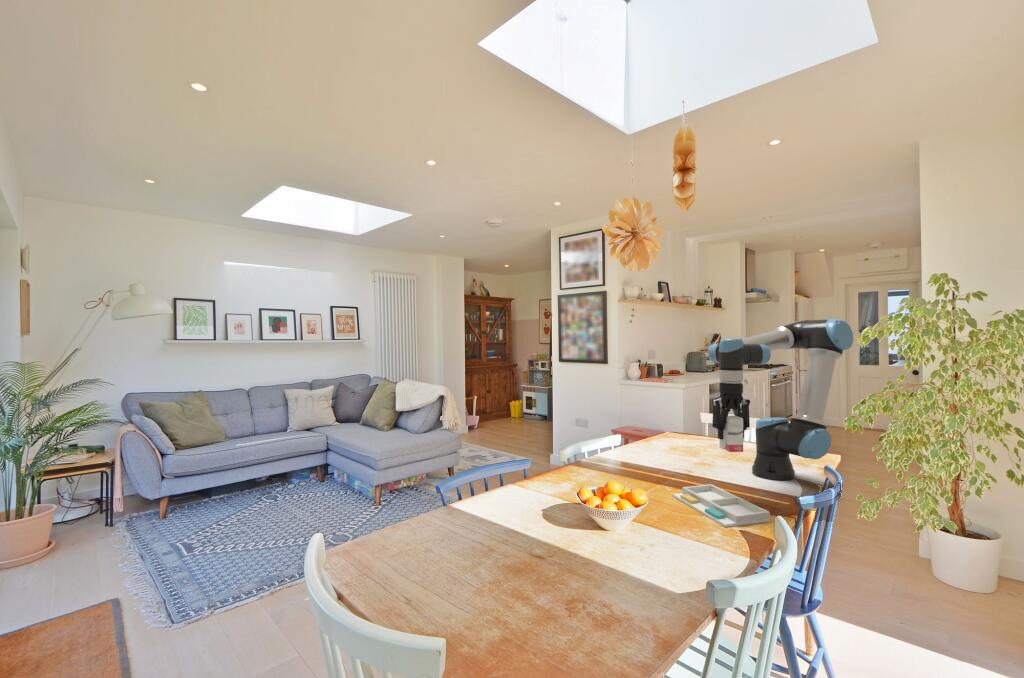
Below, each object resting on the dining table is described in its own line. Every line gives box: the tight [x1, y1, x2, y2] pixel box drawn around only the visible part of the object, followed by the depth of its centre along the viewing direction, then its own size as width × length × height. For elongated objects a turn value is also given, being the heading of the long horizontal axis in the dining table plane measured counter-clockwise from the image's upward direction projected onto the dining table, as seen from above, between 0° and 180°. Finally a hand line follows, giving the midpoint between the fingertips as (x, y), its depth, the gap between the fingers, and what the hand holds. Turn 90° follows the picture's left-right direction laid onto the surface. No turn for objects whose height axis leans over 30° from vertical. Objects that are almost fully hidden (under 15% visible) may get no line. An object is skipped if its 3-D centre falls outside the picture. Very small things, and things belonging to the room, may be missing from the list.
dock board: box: [672, 483, 771, 528], centre depth 155 cm, size 16×28×3 cm, turn 13°
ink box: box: [724, 413, 744, 453], centre depth 163 cm, size 9×5×12 cm, turn 179°
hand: (731, 448), depth 163 cm, fingers closed on ink box, 6 cm apart
